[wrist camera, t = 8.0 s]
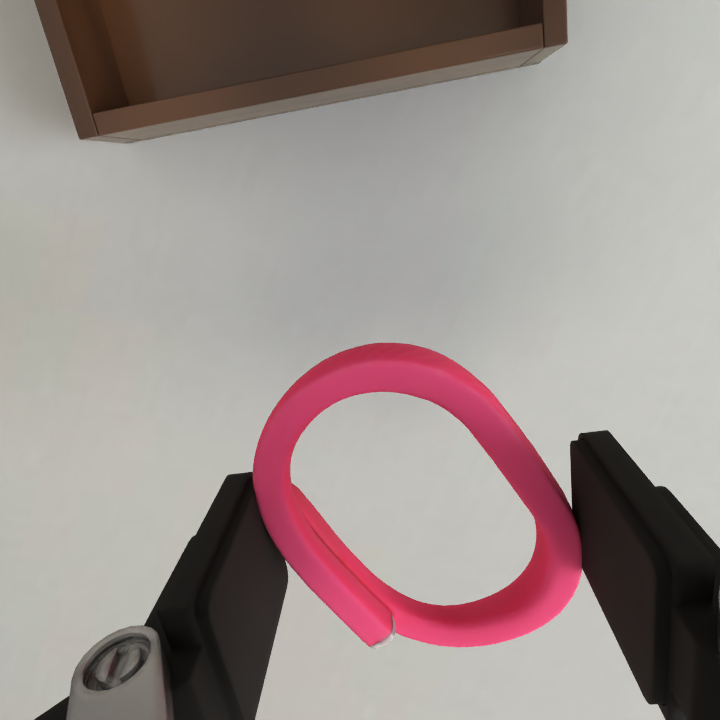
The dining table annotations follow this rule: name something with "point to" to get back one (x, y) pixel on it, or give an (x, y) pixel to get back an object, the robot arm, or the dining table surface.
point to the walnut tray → (273, 55)
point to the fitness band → (346, 572)
